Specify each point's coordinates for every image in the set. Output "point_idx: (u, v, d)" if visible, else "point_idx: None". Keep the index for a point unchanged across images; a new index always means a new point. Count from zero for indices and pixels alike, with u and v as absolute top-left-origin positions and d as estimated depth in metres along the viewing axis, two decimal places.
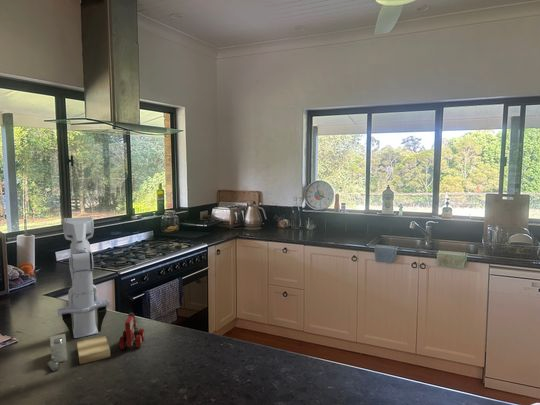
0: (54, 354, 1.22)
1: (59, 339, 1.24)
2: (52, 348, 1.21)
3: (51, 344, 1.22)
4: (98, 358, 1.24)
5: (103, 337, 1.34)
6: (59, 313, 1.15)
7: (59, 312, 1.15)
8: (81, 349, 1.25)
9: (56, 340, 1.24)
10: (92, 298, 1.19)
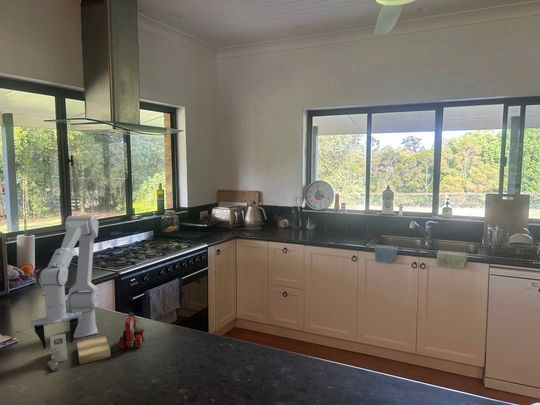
0: (54, 354, 1.22)
1: (59, 339, 1.24)
2: (52, 348, 1.21)
3: (51, 344, 1.22)
4: (98, 358, 1.24)
5: (103, 337, 1.34)
6: (31, 325, 1.20)
7: (31, 324, 1.20)
8: (81, 349, 1.25)
9: (56, 340, 1.24)
10: (64, 310, 1.24)
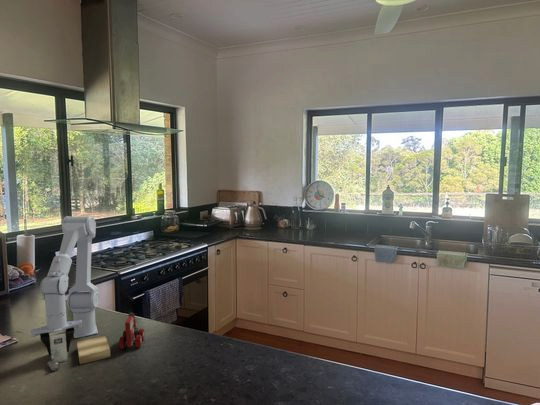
0: (54, 353, 1.22)
1: (59, 339, 1.24)
2: (52, 348, 1.21)
3: (51, 344, 1.22)
4: (98, 358, 1.24)
5: (103, 337, 1.34)
6: (32, 334, 1.21)
7: (32, 333, 1.21)
8: (81, 349, 1.25)
9: (56, 340, 1.24)
10: (64, 319, 1.25)
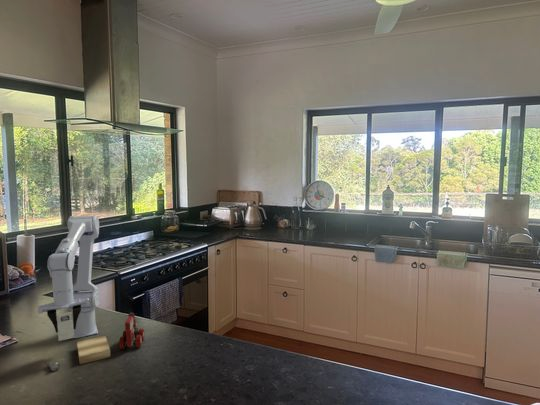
0: (61, 330, 1.21)
1: (66, 316, 1.24)
2: (59, 325, 1.21)
3: (58, 321, 1.22)
4: (98, 358, 1.24)
5: (103, 337, 1.34)
6: (39, 310, 1.21)
7: (39, 309, 1.21)
8: (81, 349, 1.25)
9: (63, 317, 1.23)
10: (71, 296, 1.24)
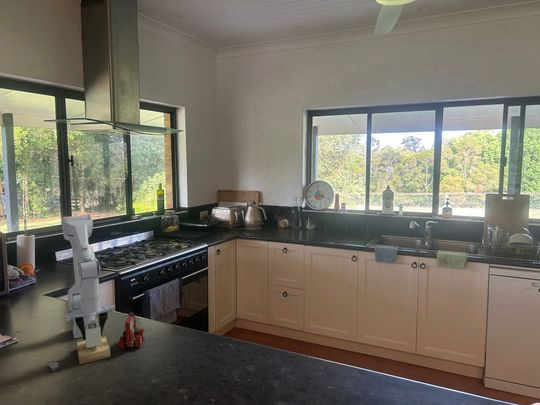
0: (89, 338, 1.24)
1: (93, 324, 1.26)
2: (87, 332, 1.23)
3: (86, 328, 1.24)
4: (98, 358, 1.24)
5: (103, 337, 1.34)
6: (68, 318, 1.23)
7: (68, 317, 1.23)
8: (81, 349, 1.25)
9: (90, 324, 1.25)
10: (98, 304, 1.27)
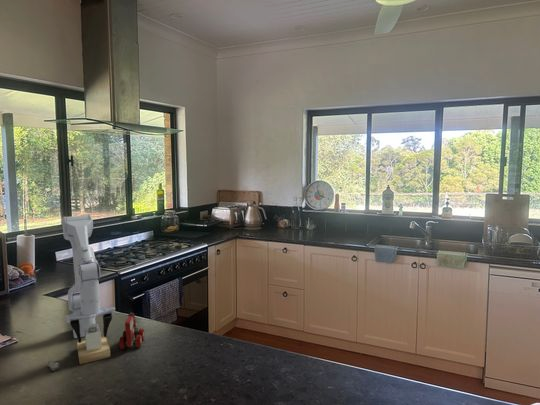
0: (89, 342, 1.24)
1: (93, 328, 1.26)
2: (87, 336, 1.23)
3: (86, 332, 1.24)
4: (98, 358, 1.24)
5: (103, 337, 1.34)
6: (68, 320, 1.23)
7: (68, 319, 1.23)
8: (81, 349, 1.25)
9: (90, 329, 1.26)
10: (98, 305, 1.27)
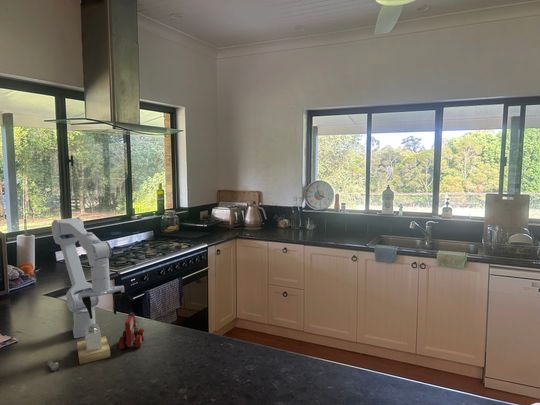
0: (89, 342, 1.24)
1: (93, 328, 1.26)
2: (87, 336, 1.23)
3: (86, 332, 1.24)
4: (98, 358, 1.24)
5: (103, 337, 1.34)
6: (80, 296, 1.28)
7: (80, 295, 1.28)
8: (81, 349, 1.25)
9: (90, 329, 1.26)
10: (108, 283, 1.32)
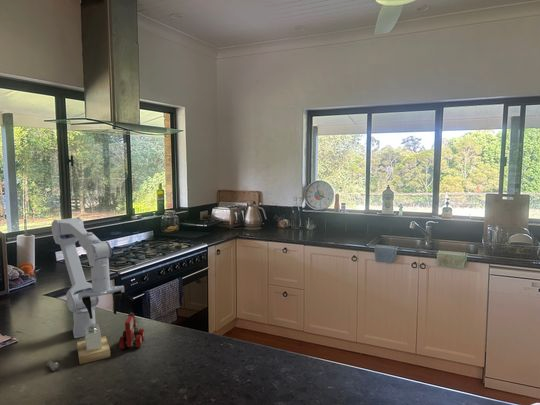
0: (89, 342, 1.24)
1: (93, 328, 1.26)
2: (87, 336, 1.23)
3: (86, 332, 1.24)
4: (98, 358, 1.24)
5: (103, 337, 1.34)
6: (80, 296, 1.28)
7: (80, 295, 1.28)
8: (81, 349, 1.25)
9: (90, 329, 1.26)
10: (108, 283, 1.32)
